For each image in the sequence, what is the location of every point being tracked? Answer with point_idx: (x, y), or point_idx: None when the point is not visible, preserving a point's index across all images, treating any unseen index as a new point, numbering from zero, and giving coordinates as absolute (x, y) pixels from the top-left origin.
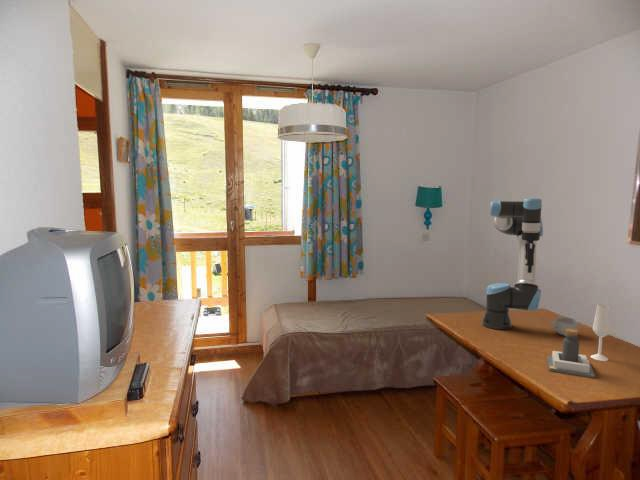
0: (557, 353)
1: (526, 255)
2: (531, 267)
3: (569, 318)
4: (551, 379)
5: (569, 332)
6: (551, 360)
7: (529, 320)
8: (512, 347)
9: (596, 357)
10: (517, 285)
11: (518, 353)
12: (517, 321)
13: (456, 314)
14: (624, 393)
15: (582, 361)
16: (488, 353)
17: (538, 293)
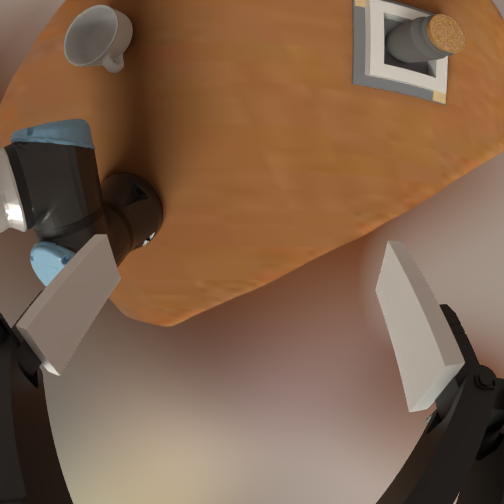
0: (388, 66)
1: (48, 428)
2: (474, 357)
3: (68, 35)
4: (480, 116)
5: (462, 48)
6: (391, 83)
7: None
8: (304, 167)
9: None
10: (33, 222)
11: (348, 156)
12: None
13: None
14: (486, 5)
15: None
16: (370, 229)
17: (43, 132)
